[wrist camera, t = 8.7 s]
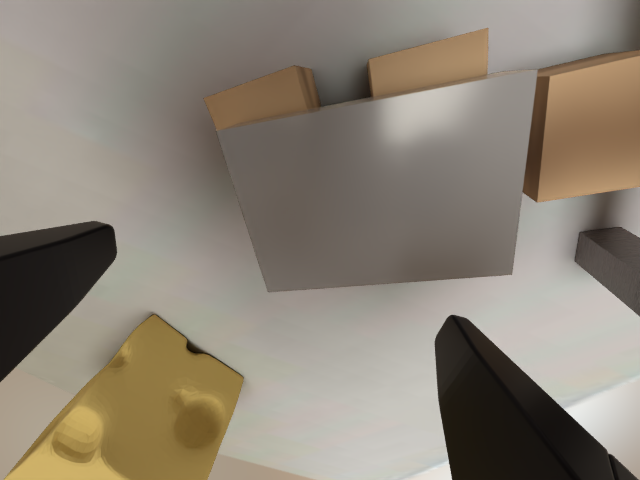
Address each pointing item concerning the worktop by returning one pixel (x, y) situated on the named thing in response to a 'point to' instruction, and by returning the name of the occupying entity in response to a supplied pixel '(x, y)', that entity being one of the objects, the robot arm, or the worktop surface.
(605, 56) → the block
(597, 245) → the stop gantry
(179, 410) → the cheese
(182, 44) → the worktop surface
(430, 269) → the slab
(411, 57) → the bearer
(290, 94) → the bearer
